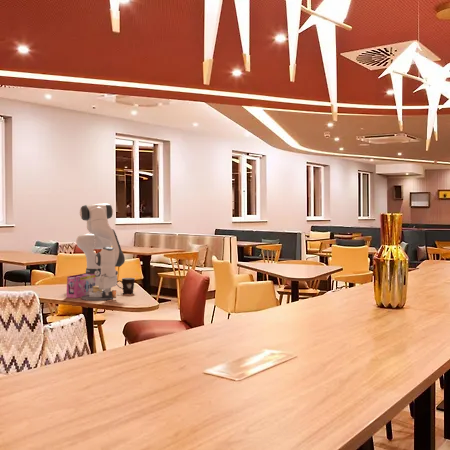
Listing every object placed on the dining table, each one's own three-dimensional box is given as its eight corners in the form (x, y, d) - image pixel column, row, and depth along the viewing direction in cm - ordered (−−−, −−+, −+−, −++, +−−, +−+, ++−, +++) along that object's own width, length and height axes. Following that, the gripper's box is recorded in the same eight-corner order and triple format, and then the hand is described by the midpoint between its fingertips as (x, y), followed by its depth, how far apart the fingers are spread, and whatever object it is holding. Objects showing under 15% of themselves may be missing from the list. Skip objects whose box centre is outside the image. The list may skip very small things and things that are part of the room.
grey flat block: (85, 296, 358) (85, 289, 358) (96, 294, 368) (96, 287, 368) (110, 299, 349) (110, 291, 349) (120, 296, 359) (120, 289, 359)
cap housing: (77, 297, 364) (77, 285, 364) (108, 294, 375) (108, 283, 374) (86, 301, 347) (86, 289, 347) (118, 299, 357) (118, 287, 357)
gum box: (75, 298, 358) (75, 277, 358) (64, 297, 361) (64, 276, 360) (95, 293, 381) (95, 273, 381) (85, 292, 383) (85, 272, 383)
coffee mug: (136, 292, 388) (136, 277, 387) (132, 294, 379) (132, 279, 379) (119, 292, 389) (119, 277, 389) (115, 293, 380) (115, 279, 380)
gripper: (105, 275, 342) (105, 297, 343) (119, 271, 362) (118, 293, 363) (96, 274, 344) (95, 297, 344) (109, 271, 364) (109, 292, 364)
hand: (107, 295), depth 353 cm, fingers closed
